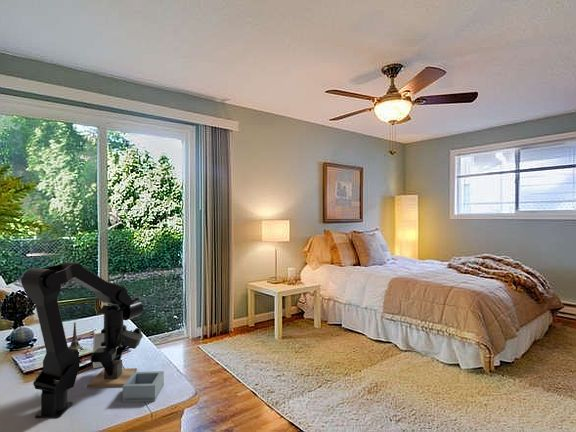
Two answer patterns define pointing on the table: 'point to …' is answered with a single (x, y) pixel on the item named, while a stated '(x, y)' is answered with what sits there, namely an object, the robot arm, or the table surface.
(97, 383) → the lid
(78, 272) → the robot arm
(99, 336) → the skincare box
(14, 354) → the table surface
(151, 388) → the grey open-top tray
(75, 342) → the eiffel tower figurine
